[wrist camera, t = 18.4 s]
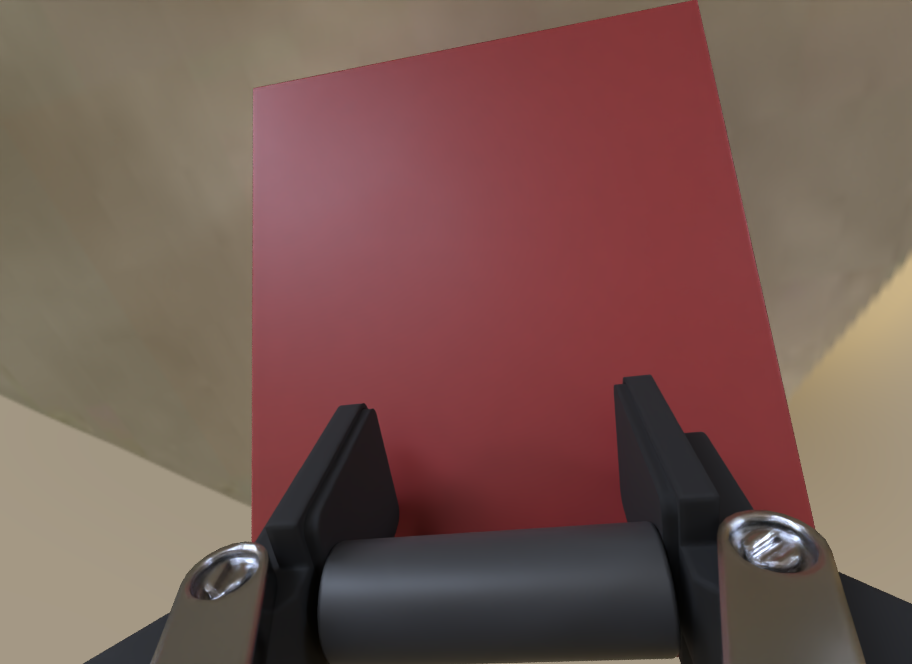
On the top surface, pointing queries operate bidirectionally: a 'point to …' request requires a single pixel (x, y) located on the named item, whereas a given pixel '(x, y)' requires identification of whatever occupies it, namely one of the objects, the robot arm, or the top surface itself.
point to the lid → (509, 329)
